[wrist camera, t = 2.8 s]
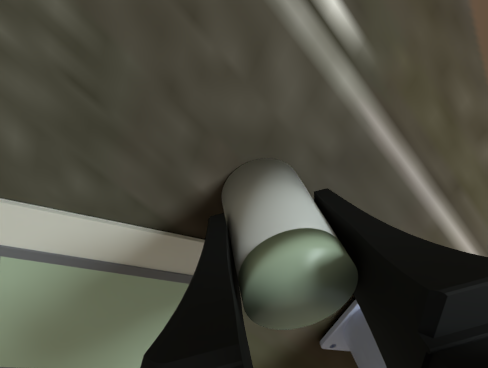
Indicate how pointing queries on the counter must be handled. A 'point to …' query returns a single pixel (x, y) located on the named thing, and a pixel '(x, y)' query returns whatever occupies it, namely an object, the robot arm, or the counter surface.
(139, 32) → the counter surface
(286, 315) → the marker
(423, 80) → the counter surface
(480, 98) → the counter surface
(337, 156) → the counter surface
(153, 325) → the picture board
